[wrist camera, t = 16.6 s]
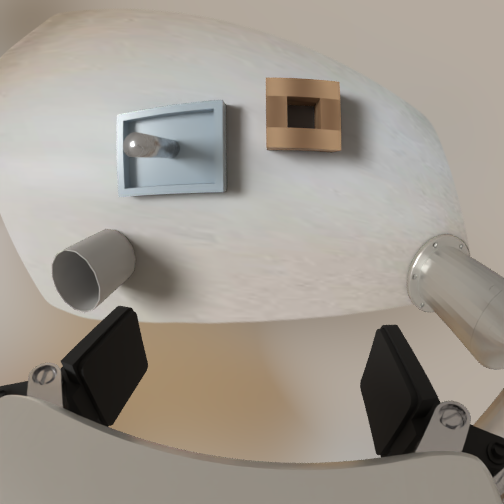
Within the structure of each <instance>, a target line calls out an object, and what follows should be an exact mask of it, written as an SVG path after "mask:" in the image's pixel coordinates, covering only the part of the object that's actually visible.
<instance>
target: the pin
mask: <svg viewBox="0 0 504 504" xmlns="http://www.w3.org/2000/svg"><path fill="white" fill-rule="evenodd" d="M123 150H124V152H125V154H126V155H127V156H129V157H144V158H174V157H176V156H177V155H178V153H179V151H180V146H179V144H178V142H177V141H175V140H171V139H167V138H163V137H158V136H153V135H149V134H144V133H139V132H133V133H130V134H129V135H128V136H127V137H126V138H125V140H124V142H123Z"/></svg>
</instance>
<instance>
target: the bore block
mask: <svg viewBox="0 0 504 504" xmlns="http://www.w3.org/2000/svg"><path fill="white" fill-rule="evenodd" d="M287 105H296V106H314V129H310V128H287ZM266 145H267V150H299V151H320V152H336V151H341V108H340V86H339V82H335V81H326V80H314V79H298V78H266Z"/></svg>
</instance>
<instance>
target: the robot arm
mask: <svg viewBox="0 0 504 504" xmlns="http://www.w3.org/2000/svg"><path fill="white" fill-rule="evenodd" d="M407 291H408V294H409V297H410V299H411V301H412V302H413V304H414V305H415V306H416V307H417V308H418V309H420V310H422V311H424V312H435V313H436V314H437V315H438V316H439V317H440V318H441V319H442V320H443V321H444V323H446V325H447V326H448V327H449V328H450V329H451V330H452V331H453V333H454V334H455V335H456V336H457V337H458V338H459V340H460V341H461V342H462V343H463V344H464V345H465V347H466V348H467V349H468V350H469V351H470V353H471V354H472V355H473V356H474V357H475V359H476V360H477V361H478V362H479V363H480V364H481V365H483V366H484V367H486V368H489V369H495V370H497V369H504V278H503V277H502V276H500V275H498V274H497V273H496V272H494V271H492V270H491V269H489V268H488V267H486V266H485V265H483V264H481V263H480V262H478V261H476V260H475V259H473V258H471V257H470V255H469V251H468V249H467V247H466V245H465V244H464V242H463V241H462V240H460V239H459V238H457V237H455V236H452V235H448V234H443V235H438V236H436V237H434V238H432V239H430V240H429V241H428V242H426V243H425V244H424V245H423V246H422V247H421V248H420V250H419V251H418V252H417V254H416V255H415V257H414V259H413V261H412V263H411V266H410V268H409V272H408V276H407ZM61 363H62V365H63V367H62V368H61V369H60V368H59V366H58V365H56V364H54V363H43V364H40V365H38V366H36V367H35V368H34V369H33V370H32V371H31V372H30V374H29V379H28V381H25V382H20V383H15V384H10V385H4V386H0V504H504V388H503V390H502V391H501V392H500V394H499V395H498V396H497V397H496V399H495V400H494V401H493V402H492V404H491V405H490V406H489V407H488V409H487V410H486V411H485V412H484V413H483V415H482V416H481V417H480V418H479V419H478V420H477V421H476V423H475V424H474V425H471V424H470V421H471V416H470V413H469V411H468V410H467V408H466V407H464V405H462V404H460V403H458V402H455V401H445V402H442V403H440V401H439V399H438V396H437V395H436V392H435V390H434V389H433V387H432V385H431V383H430V381H429V379H428V377H427V375H426V374H425V372H424V370H423V368H422V366H421V365H420V363H419V361H418V359H417V357H416V356H415V354H414V352H413V351H412V349H411V347H410V345H409V344H408V342H407V340H406V339H405V337H404V335H403V334H402V332H401V330H400V329H399V327H398V326H397V325H383V326H382V327H381V329H377V331H376V334H375V338H374V341H373V345H372V348H371V351H370V355H369V358H368V361H367V364H366V367H365V370H364V373H363V376H362V379H361V383H360V384H361V385H360V388H361V392H362V396H363V400H364V403H365V408H366V412H367V416H368V420H369V424H370V428H371V433H372V437H373V441H374V446H375V450H376V454H377V455H381V458H374V459H366V460H357V461H343V462H326V463H279V462H263V461H251V460H241V459H233V458H226V457H219V456H213V455H206V454H201V453H196V452H191V451H186V450H182V449H178V448H174V447H169V446H166V445H162V444H158V443H155V442H151V441H148V440H144V439H141V438H138V437H135V436H132V435H129V434H126V433H123V432H120V431H117V430H114V429H112V428H109V427H108V426H111V425H113V423H114V422H115V420H116V419H117V417H118V415H119V414H120V412H121V410H122V409H123V407H124V406H125V404H126V402H127V401H128V399H129V398H130V396H131V395H132V393H133V391H134V390H135V388H136V386H137V385H138V383H139V382H140V380H141V379H142V377H143V375H144V374H145V372H146V371H147V368H148V363H147V358H146V354H145V350H144V346H143V341H142V337H141V333H140V328H139V323H138V318H137V314H136V312H134V311H133V309H132V308H129V307H123V306H118V307H116V308H115V309H114V310H113V311H112V312H111V313H110V314H109V315H108V316H107V317H106V318H105V319H103V320H102V321H101V322H100V323H99V324H98V325H97V326H96V327H95V328H94V329H93V330H92V331H91V332H90V333H89V334H88V335H87V336H86V337H85V338H84V339H82V340H81V341H80V342H79V343H78V344H77V345H76V346H75V347H74V348H73V349H72V350H71V351H70V352H69V353H68V354H67V355H66V356H65V357H64V358H63V359H62V360H61Z"/></svg>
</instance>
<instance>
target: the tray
mask: <svg viewBox="0 0 504 504" xmlns="http://www.w3.org/2000/svg"><path fill="white" fill-rule="evenodd" d="M133 132H139V133H144V134H149V135H153V136H158V137H163V138H167V139H171V140H175V141H177V142H178V144H179V146H180V151H179V153H178V155H177V156H176V157H174V158H144V157H129V156H127V155H126V154H125V152H124V150H123V142H124V140H125V138H126V137H127V136H128V135H129V134H130V133H133ZM117 177H118V194H119V197H126V196H140V195H156V194H175V193H203V192H224V191H226V190H227V179H226V104H225V103H224V101H223V100H216V101H203V102H193V103H184V104H176V105H169V106H162V107H156V108H150V109H144V110H139V111H134V112H129V113H124V114H119V115H117Z"/></svg>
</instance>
